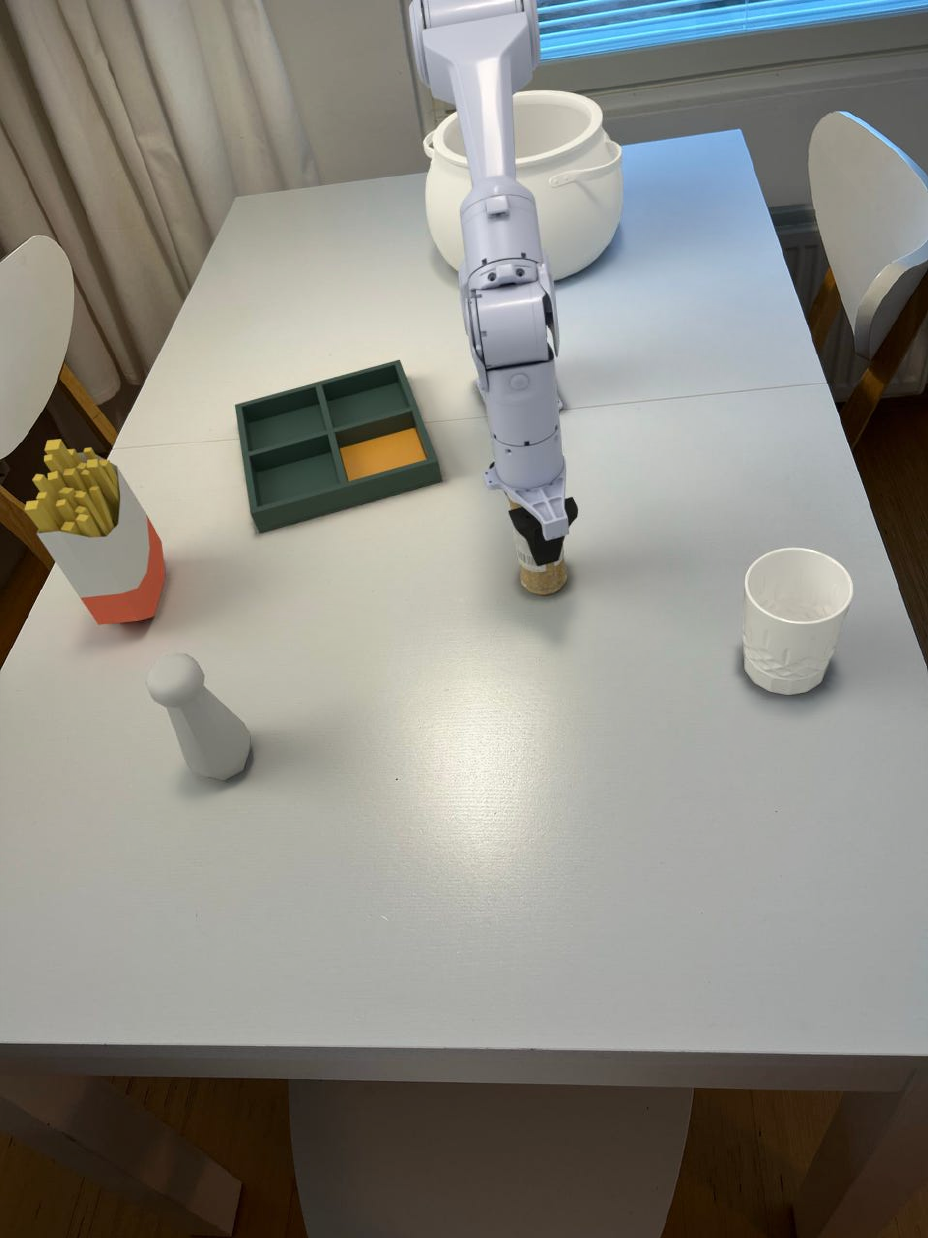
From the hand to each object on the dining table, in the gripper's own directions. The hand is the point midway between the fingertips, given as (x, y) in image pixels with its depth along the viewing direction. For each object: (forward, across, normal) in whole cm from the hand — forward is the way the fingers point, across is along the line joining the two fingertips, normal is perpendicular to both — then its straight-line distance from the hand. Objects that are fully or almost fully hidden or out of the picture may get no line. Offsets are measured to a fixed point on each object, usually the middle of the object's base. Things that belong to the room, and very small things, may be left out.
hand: (539, 542), depth 86 cm
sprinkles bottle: (+5, 0, 0) cm, 5 cm away
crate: (+5, -28, -16) cm, 33 cm away
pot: (+5, -61, +17) cm, 64 cm away
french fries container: (+5, -13, -39) cm, 41 cm away
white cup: (+5, +17, +16) cm, 24 cm away
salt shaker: (+5, +10, -32) cm, 34 cm away
